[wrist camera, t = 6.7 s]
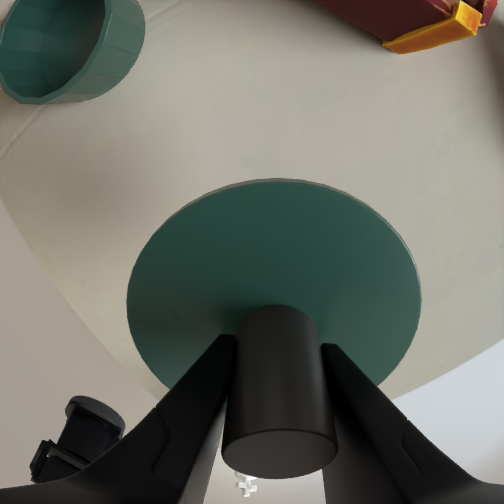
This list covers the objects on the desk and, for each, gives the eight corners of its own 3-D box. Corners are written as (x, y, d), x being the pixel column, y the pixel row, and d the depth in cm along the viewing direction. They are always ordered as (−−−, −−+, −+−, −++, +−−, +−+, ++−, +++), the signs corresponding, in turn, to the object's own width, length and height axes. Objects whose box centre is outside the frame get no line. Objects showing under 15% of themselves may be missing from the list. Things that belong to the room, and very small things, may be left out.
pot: (24, 73, 16) (-21, 74, 12) (83, -25, 13) (45, -46, 8) (99, 122, 18) (57, 129, 13) (171, 13, 15) (143, -12, 10)
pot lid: (101, 327, 11) (40, 435, 6) (242, 104, 7) (211, 95, 3) (290, 425, 13) (294, 527, 8) (453, 287, 10) (530, 390, 5)
